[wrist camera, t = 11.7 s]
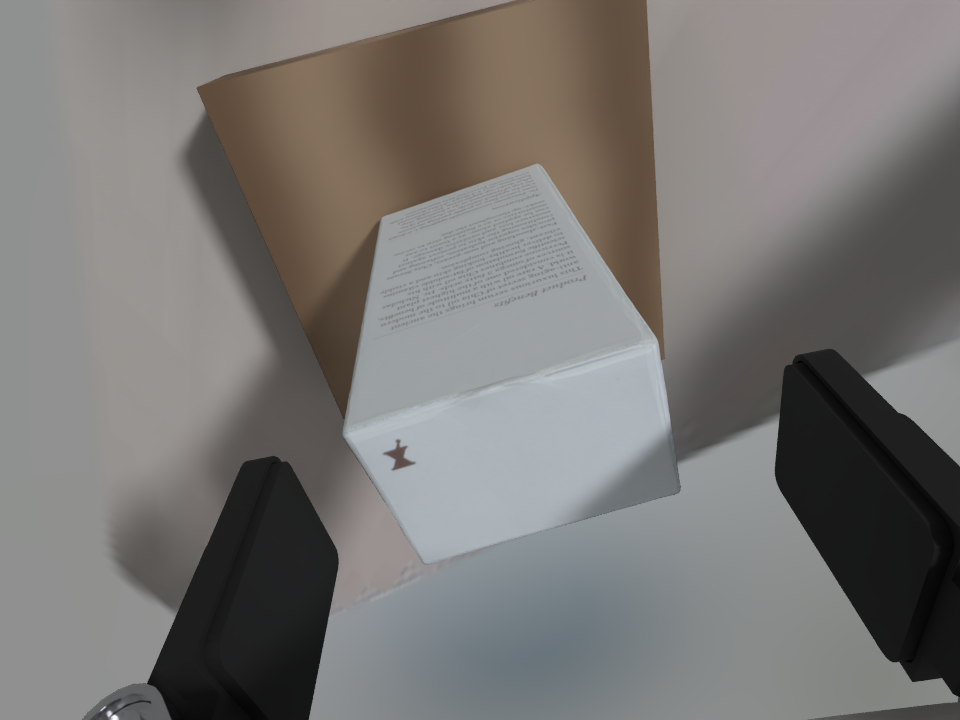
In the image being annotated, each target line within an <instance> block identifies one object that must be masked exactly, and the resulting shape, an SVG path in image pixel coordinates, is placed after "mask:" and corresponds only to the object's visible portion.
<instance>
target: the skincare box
mask: <svg viewBox="0 0 960 720" xmlns="http://www.w3.org/2000/svg"><path fill="white" fill-rule="evenodd" d="M342 436H343V438H344V439H345V441H346V443H347V444H348V446H349V447H350V449H351V450H352V452H353V453H354V455H355V456H356V458H357V460H358V461H359V463H360V464H361V466H362V467H363V469H364V470H365V472H366V473H367V475H368V477H369V478H370V480H371V481H372V483H373V484H374V486H375V487H376V489H377V491H378V492H379V494H380V495H381V497H382V498H383V500H384V502H385V503H386V505H387V506H388V508H389V509H390V511H391V513H392V515H393V516H394V518H395V519H396V521H397V523H398V524H399V526H400V528H401V530H402V531H403V533H404V535H405V536H406V538H407V540H408V541H409V543H410V544H411V546H412V547H413V549H414V550H415V552H416V553H417V555H418V557H419V558H420V560H421V561H422V563H423V564H432V563H435V562H439V561H442V560H445V559H448V558H452V557H455V556H458V555H461V554H465V553H468V552H471V551H475V550H478V549H481V548H485V547H488V546H492V545H495V544H499V543H502V542H506V541H509V540H513V539H516V538H520V537H523V536H527V535H530V534H534V533H538V532H541V531H545V530H548V529H552V528H556V527H560V526H563V525H567V524H570V523H574V522H577V521H581V520H584V519H588V518H591V517H595V516H598V515H602V514H605V513H608V512H612V511H615V510H619V509H623V508H626V507H630V506H634V505H637V504H641V503H644V502H648V501H651V500H655V499H658V498H662V497H666V496H670V495H675V494H677V493H679V491H680V487H681V486H680V481H679V475H678V467H677V460H676V454H675V447H674V440H673V434H672V427H671V421H670V415H669V408H668V400H667V393H666V387H665V381H664V375H663V369H662V363H661V357H660V350H659V344H658V340H657V338H656V336H655V335H654V333H653V332H652V331H651V329H650V328H649V326H648V325H647V324H646V322H645V321H644V319H643V318H642V316H641V315H640V314H639V312H638V311H637V310H636V308H635V306H634V305H633V303H632V302H631V301H630V299H629V298H628V297H627V295H626V294H625V292H624V290H623V289H622V287H621V286H620V284H619V283H618V281H617V280H616V279H615V277H614V275H613V274H612V272H611V271H610V269H609V268H608V266H607V265H606V263H605V262H604V260H603V259H602V257H601V256H600V254H599V253H598V251H597V250H596V248H595V246H594V245H593V243H592V242H591V240H590V239H589V237H588V236H587V234H586V233H585V231H584V230H583V228H582V227H581V225H580V224H579V222H578V220H577V219H576V217H575V216H574V214H573V213H572V211H571V209H570V208H569V206H568V205H567V203H566V202H565V200H564V199H563V197H562V196H561V194H560V193H559V191H558V189H557V188H556V186H555V185H554V183H553V182H552V180H551V179H550V177H549V175H548V174H547V173H546V171H545V170H544V168H543V167H542V166H541V165H540V164H534V165H531V166H529V167H526V168H523V169H520V170H517V171H514V172H511V173H508V174H505V175H502V176H500V177H497V178H494V179H491V180H488V181H485V182H482V183H479V184H476V185H473V186H470V187H467V188H464V189H462V190H459V191H456V192H453V193H450V194H448V195H445V196H442V197H439V198H436V199H433V200H430V201H427V202H424V203H422V204H419V205H416V206H413V207H410V208H407V209H404V210H401V211H398V212H395V213H392V214H389V215H386V216H384V217H382V218H381V220H380V225H379V231H378V237H377V243H376V248H375V254H374V259H373V265H372V270H371V276H370V281H369V287H368V292H367V297H366V303H365V309H364V315H363V321H362V326H361V333H360V337H359V343H358V349H357V354H356V360H355V366H354V371H353V377H352V384H351V389H350V393H349V398H348V404H347V410H346V415H345V420H344V425H343V430H342Z"/></svg>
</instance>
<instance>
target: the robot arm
mask: <svg viewBox="0 0 960 720" xmlns="http://www.w3.org/2000/svg"><path fill="white" fill-rule="evenodd" d="M775 477H776V481H777V484H778V487H779V489H780V491H781V492H782V494H783V496H784V497H785V499H786V500H787V502H788V504H789V505H790V507H791V508H792V510H793V511H794V513H795V515H796V516H797V518H798V519H799V521H800V523H801V524H802V526H803V527H804V529H805V531H806V532H807V534H808V535H809V537H810V538H811V540H812V542H813V543H814V545H815V546H816V548H817V549H818V551H819V553H820V554H821V556H822V557H823V559H824V561H825V562H826V564H827V565H828V567H829V569H830V570H831V572H832V573H833V575H834V577H835V578H836V580H837V581H838V583H839V585H840V586H841V588H842V589H843V591H844V592H845V594H846V595H847V597H848V599H849V600H850V602H851V603H852V605H853V607H854V608H855V610H856V611H857V613H858V615H859V616H860V618H861V619H862V621H863V623H864V624H865V626H866V627H867V629H868V631H869V632H870V634H871V635H872V637H873V639H874V640H875V642H876V643H877V645H878V646H879V648H880V650H881V651H882V653H883V654H884V655H885V657H886V658H887V659H889V660H890V661H892V662H900V664H901V665H902V666H903V668H904V670H905V671H906V673H907V674H908V676H909V677H910V679H911V680H912V682H916V681H924V680H931V679H938V678H943V680H944V681H945V683H946V684H947V686H948V687H949V689H950V690H951V692H952V693H953V694H954V695H956V696H958V702H955V703H943V704H934V705H925V706H917V707H908V708H900V709H891V710H882V711H874V712H866V713H857V714H849V715H839V716H831V717H824V718H817V719H809V720H960V467H959V465H958V464H957V463H956V462H955V461H953V459H952V458H951V457H949V456H948V455H947V454H946V453H945V452H944V451H943V450H942V449H941V448H940V447H939V446H938V445H937V444H936V443H935V442H934V441H933V440H932V439H931V438H930V437H929V436H928V435H927V434H926V433H925V432H924V431H923V430H922V429H921V428H920V427H919V426H918V425H917V424H916V423H915V422H914V421H912V420H911V419H910V418H908V417H907V416H906V415H903V414H900V413H898V412H897V411H896V410H895V409H894V408H893V407H892V406H891V405H890V404H889V403H888V402H887V401H886V400H885V399H884V398H883V397H882V396H881V395H880V394H879V393H878V392H877V391H876V390H875V389H874V388H873V387H872V386H871V385H870V384H869V383H868V382H867V381H866V380H865V379H864V378H863V377H862V376H861V375H860V374H859V373H858V372H857V371H856V370H855V369H854V368H853V367H852V366H851V365H850V364H849V363H848V362H847V361H846V360H845V359H843V358H842V357H841V356H840V355H839V354H838V353H837V352H836V351H835V350H833V349H826V350H821V351H816V352H811V353H805V354H800V355H797V356H795V358H794V360H793V364H791V365H787V366H786V367H785V369H784V375H783V386H782V397H781V408H780V419H779V430H778V441H777V452H776V462H775ZM338 564H339V561H338V553H337V550H336V547H335V545H334V544H333V542H332V540H331V538H330V536H329V534H328V533H327V531H326V529H325V527H324V525H323V524H322V522H321V520H320V518H319V516H318V514H317V513H316V511H315V509H314V507H313V505H312V503H311V502H310V500H309V498H308V496H307V494H306V493H305V491H304V489H303V487H302V485H301V483H300V482H299V480H298V478H297V476H296V474H295V472H294V471H293V469H292V467H291V465H290V464H289V463H288V462H281V461H280V459H279V458H278V457H276V456H271V457H266V458H261V459H256V460H250V461H246V462H245V463H243V465H242V466H241V468H240V471H239V473H238V475H237V478H236V480H235V482H234V484H233V487H232V489H231V491H230V494H229V496H228V498H227V501H226V503H225V505H224V508H223V510H222V512H221V515H220V517H219V519H218V522H217V524H216V526H215V529H214V531H213V533H212V536H211V538H210V540H209V543H208V545H207V547H206V548H205V550H204V553H203V555H202V557H201V560H200V562H199V564H198V567H197V569H196V571H195V574H194V576H193V578H192V581H191V583H190V585H189V587H188V590H187V592H186V594H185V597H184V599H183V601H182V604H181V606H180V608H179V611H178V613H177V615H176V618H175V620H174V622H173V625H172V627H171V629H170V632H169V634H168V636H167V639H166V641H165V643H164V645H163V648H162V650H161V652H160V655H159V657H158V659H157V662H156V664H155V666H154V669H153V671H152V673H151V676H150V678H149V680H148V683H147V684H146V683H143V684H132V685H129V686H126V687H124V688H121V689H118V690H116V691H115V692H113V693H112V694H110V695H108V696H107V697H105V698H104V699H102V700H101V701H100V702H99V703H98V704H97V705H96V706H95V707H93V708H92V709H91V710H90V711H89V712H88V713H87V714H86V715H85V717H84V718H83V719H82V720H309V715H310V710H311V705H312V700H313V694H314V689H315V684H316V679H317V674H318V669H319V664H320V659H321V653H322V648H323V643H324V638H325V632H326V628H327V623H328V617H329V612H330V607H331V602H332V597H333V592H334V587H335V581H336V576H337V571H338Z"/></svg>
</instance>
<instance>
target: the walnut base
mask: <svg viewBox="0 0 960 720" xmlns="http://www.w3.org/2000/svg"><path fill="white" fill-rule="evenodd" d="M197 90H198V93H199V95H200V97H201V99H202V102H203V104H204V106H205V108H206V111H207V113H208V115H209V117H210V120H211V122H212V124H213V126H214V129H215V131H216V133H217V135H218V138H219V140H220V142H221V144H222V147H223V149H224V151H225V153H226V156H227V158H228V160H229V162H230V165H231V167H232V169H233V171H234V173H235V176H236V178H237V180H238V182H239V185H240V187H241V189H242V191H243V194H244V196H245V198H246V200H247V203H248V205H249V207H250V209H251V212H252V214H253V216H254V218H255V221H256V223H257V225H258V227H259V230H260V232H261V234H262V236H263V239H264V241H265V243H266V245H267V248H268V250H269V252H270V254H271V257H272V259H273V261H274V263H275V266H276V268H277V270H278V272H279V274H280V277H281V279H282V281H283V283H284V286H285V288H286V290H287V292H288V295H289V297H290V299H291V301H292V304H293V306H294V308H295V310H296V313H297V315H298V317H299V319H300V322H301V324H302V326H303V328H304V331H305V333H306V335H307V337H308V340H309V342H310V344H311V346H312V349H313V351H314V353H315V355H316V358H317V360H318V362H319V364H320V366H321V369H322V371H323V373H324V375H325V378H326V380H327V382H328V384H329V387H330V389H331V391H332V393H333V396H334V398H335V400H336V402H337V405H338V407H339V409H340V411H341V414H342V416H343V418H344V420H345V415H346V410H347V404H348V398H349V393H350V389H351V384H352V377H353V371H354V366H355V360H356V354H357V349H358V343H359V337H360V333H361V326H362V321H363V315H364V309H365V303H366V297H367V292H368V287H369V281H370V276H371V270H372V265H373V259H374V254H375V248H376V243H377V237H378V231H379V225H380V220H381V218H382V217H384V216H386V215H389V214H392V213H395V212H398V211H401V210H404V209H407V208H410V207H413V206H416V205H419V204H422V203H424V202H427V201H430V200H433V199H436V198H439V197H442V196H445V195H448V194H450V193H453V192H456V191H459V190H462V189H464V188H467V187H470V186H473V185H476V184H479V183H482V182H485V181H488V180H491V179H494V178H497V177H500V176H502V175H505V174H508V173H511V172H514V171H517V170H520V169H523V168H526V167H529V166H531V165H534V164H540V165H541V166H542V167H543V168H544V170H545V171H546V173H547V174H548V175H549V177H550V179H551V180H552V182H553V183H554V185H555V186H556V188H557V189H558V191H559V193H560V194H561V196H562V197H563V199H564V200H565V202H566V203H567V205H568V206H569V208H570V209H571V211H572V213H573V214H574V216H575V217H576V219H577V220H578V222H579V224H580V225H581V227H582V228H583V230H584V231H585V233H586V234H587V236H588V237H589V239H590V240H591V242H592V243H593V245H594V246H595V248H596V250H597V251H598V253H599V254H600V256H601V257H602V259H603V260H604V262H605V263H606V265H607V266H608V268H609V269H610V271H611V272H612V274H613V275H614V277H615V279H616V280H617V281H618V283H619V284H620V286H621V287H622V289H623V290H624V292H625V294H626V295H627V297H628V298H629V299H630V301H631V302H632V303H633V305H634V306H635V308H636V310H637V311H638V312H639V314H640V315H641V316H642V318H643V319H644V321H645V322H646V324H647V325H648V326H649V328H650V329H651V331H652V332H653V333H654V335H655V336H656V338H657V340H658V344H659V350H660V357H661V360H662V359H665V357H664V338H663V318H662V298H661V279H660V259H659V239H658V219H657V200H656V180H655V160H654V141H653V121H652V101H651V82H650V62H649V42H648V22H647V3H646V0H516V1H512V2H508V3H504V4H500V5H497V6H493V7H489V8H485V9H481V10H477V11H473V12H469V13H465V14H462V15H458V16H454V17H450V18H446V19H442V20H438V21H434V22H430V23H427V24H423V25H419V26H415V27H411V28H407V29H403V30H399V31H395V32H392V33H388V34H384V35H380V36H376V37H372V38H368V39H364V40H360V41H356V42H353V43H349V44H345V45H341V46H337V47H333V48H329V49H325V50H321V51H318V52H314V53H310V54H306V55H302V56H298V57H294V58H290V59H286V60H283V61H279V62H275V63H271V64H267V65H263V66H259V67H255V68H251V69H248V70H244V71H240V72H236V73H232V74H228V75H225V76H222V77H220V78H218V79H215V80H213V81H211V82H209V83H206V84H204V85H202V86H199V87H197Z"/></svg>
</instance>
